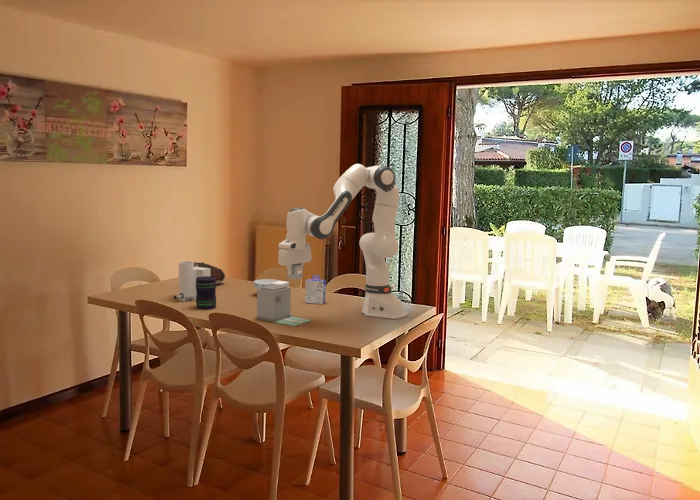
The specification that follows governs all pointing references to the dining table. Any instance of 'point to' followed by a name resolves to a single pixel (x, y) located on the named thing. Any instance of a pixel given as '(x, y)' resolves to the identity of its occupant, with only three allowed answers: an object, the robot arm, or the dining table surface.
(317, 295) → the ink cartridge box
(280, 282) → the small box
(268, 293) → the grey latched box
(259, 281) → the chinaware
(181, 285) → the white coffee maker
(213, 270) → the clay pot
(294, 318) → the mat
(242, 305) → the dining table surface
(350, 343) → the dining table surface
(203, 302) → the storage jar
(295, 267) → the block
